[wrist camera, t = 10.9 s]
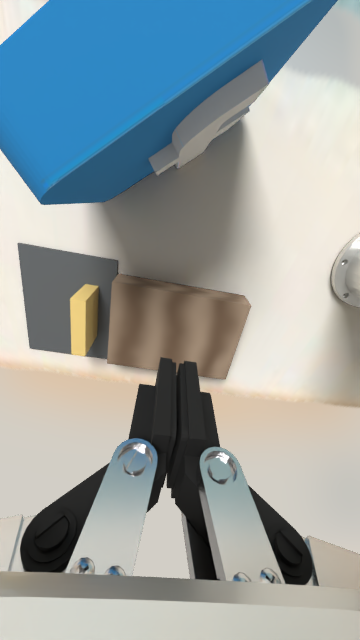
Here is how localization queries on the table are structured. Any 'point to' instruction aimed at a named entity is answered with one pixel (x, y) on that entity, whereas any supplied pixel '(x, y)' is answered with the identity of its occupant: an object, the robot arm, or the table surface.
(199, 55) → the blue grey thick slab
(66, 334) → the mat
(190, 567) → the robot arm
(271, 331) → the table surface
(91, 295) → the yellow rectangular block
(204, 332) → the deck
